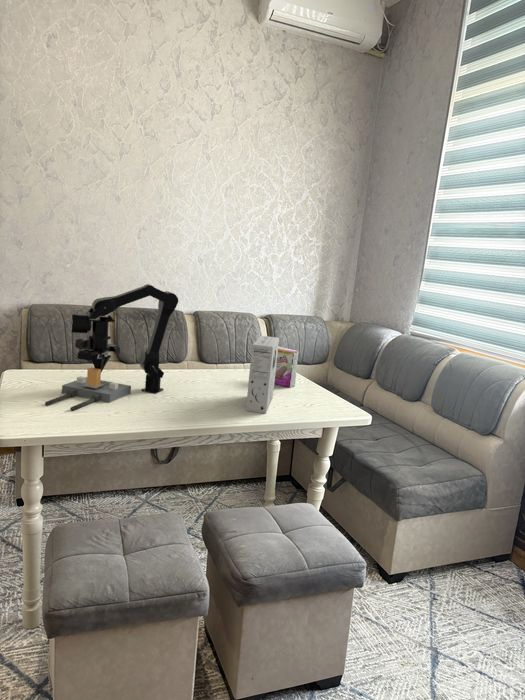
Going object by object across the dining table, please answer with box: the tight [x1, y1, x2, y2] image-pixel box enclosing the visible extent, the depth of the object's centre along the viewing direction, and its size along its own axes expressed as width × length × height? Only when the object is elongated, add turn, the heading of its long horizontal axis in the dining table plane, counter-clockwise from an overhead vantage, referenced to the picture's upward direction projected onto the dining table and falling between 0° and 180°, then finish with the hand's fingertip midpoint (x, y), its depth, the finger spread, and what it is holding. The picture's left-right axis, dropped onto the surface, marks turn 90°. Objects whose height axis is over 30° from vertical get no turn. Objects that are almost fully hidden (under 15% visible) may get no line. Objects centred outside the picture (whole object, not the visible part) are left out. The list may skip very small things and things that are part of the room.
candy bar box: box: [274, 346, 300, 388], centre depth 227 cm, size 11×5×16 cm, turn 58°
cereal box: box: [245, 335, 280, 414], centre depth 194 cm, size 22×8×25 cm, turn 172°
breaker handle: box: [84, 367, 104, 388], centre depth 186 cm, size 5×5×6 cm
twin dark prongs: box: [44, 393, 96, 412], centre depth 176 cm, size 15×11×1 cm
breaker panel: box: [61, 375, 132, 404], centre depth 188 cm, size 16×20×5 cm
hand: (98, 374), depth 189 cm, fingers closed
